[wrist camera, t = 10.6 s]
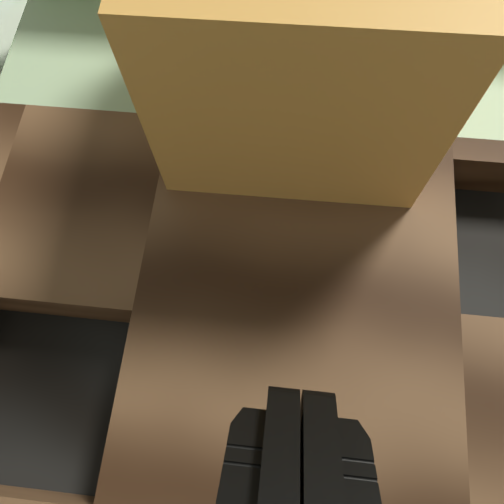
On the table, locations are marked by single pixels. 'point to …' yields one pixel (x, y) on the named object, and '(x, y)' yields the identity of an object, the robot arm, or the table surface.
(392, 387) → the board
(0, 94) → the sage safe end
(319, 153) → the ochre block
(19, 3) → the table surface
